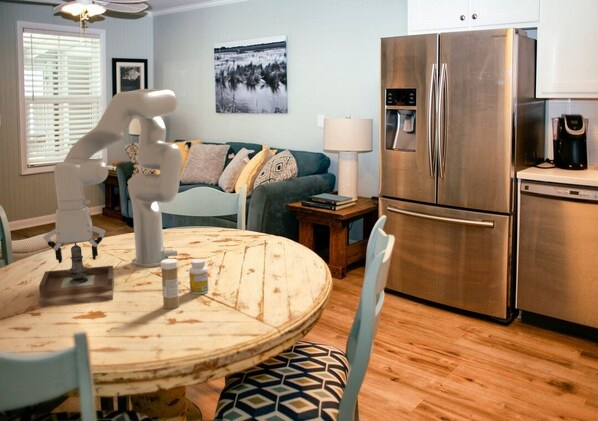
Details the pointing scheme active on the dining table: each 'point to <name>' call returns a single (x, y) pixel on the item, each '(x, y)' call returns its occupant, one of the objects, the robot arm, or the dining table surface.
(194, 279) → the supplement bottle
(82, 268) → the salt shaker
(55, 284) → the wooden tray
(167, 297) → the sprinkles bottle
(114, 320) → the dining table surface
